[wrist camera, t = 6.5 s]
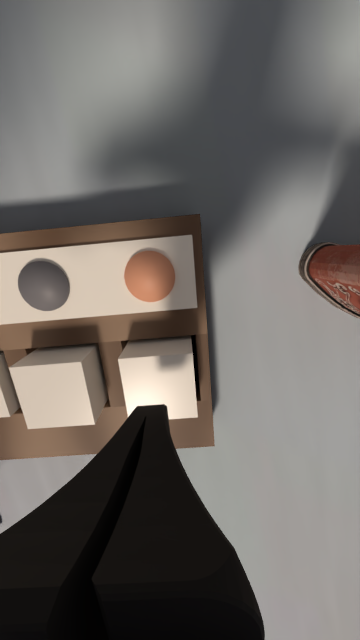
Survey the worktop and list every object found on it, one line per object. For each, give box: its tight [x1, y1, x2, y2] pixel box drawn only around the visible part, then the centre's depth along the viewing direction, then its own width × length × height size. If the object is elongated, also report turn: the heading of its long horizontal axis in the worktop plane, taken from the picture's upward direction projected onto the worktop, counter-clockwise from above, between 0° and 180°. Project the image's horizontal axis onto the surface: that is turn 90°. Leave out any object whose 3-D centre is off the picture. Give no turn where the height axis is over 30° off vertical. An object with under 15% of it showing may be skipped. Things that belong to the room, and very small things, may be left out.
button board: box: [0, 214, 214, 460], centre depth 16 cm, size 18×15×2 cm
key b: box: [9, 343, 109, 429], centre depth 15 cm, size 4×4×3 cm
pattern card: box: [0, 235, 197, 325], centre depth 14 cm, size 17×4×1 cm, turn 95°
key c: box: [118, 335, 198, 419], centre depth 15 cm, size 4×4×3 cm
